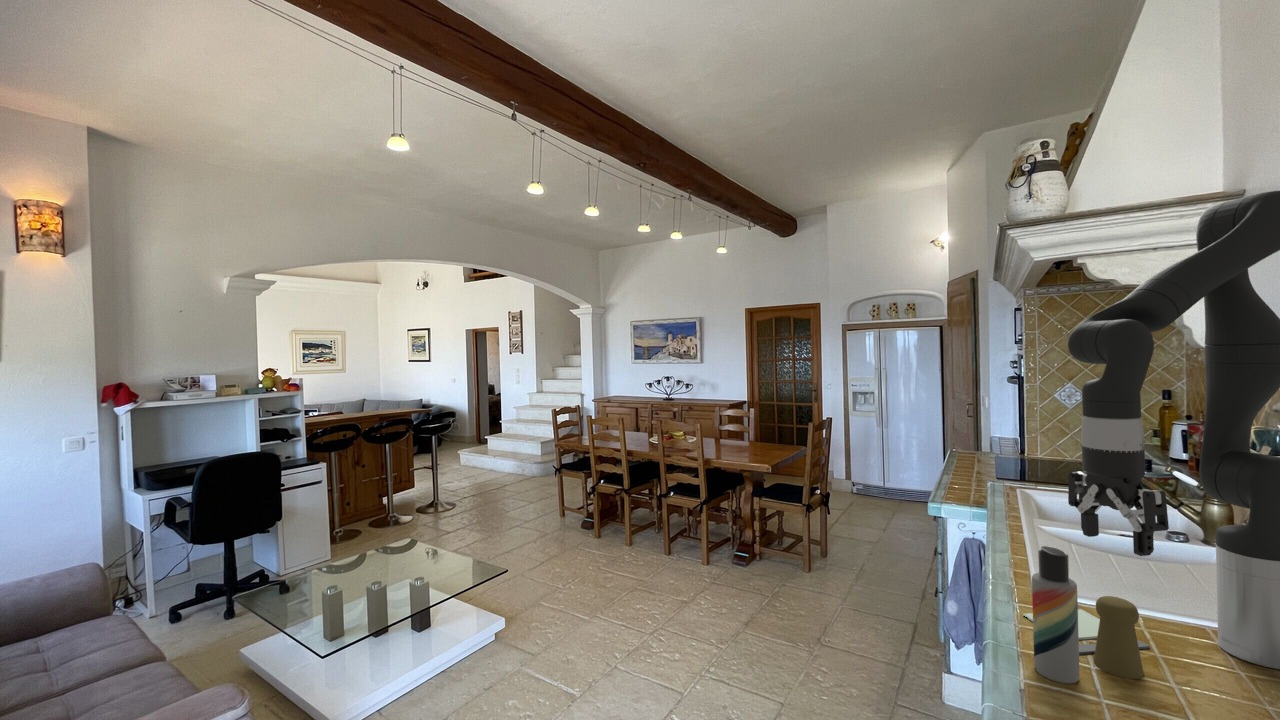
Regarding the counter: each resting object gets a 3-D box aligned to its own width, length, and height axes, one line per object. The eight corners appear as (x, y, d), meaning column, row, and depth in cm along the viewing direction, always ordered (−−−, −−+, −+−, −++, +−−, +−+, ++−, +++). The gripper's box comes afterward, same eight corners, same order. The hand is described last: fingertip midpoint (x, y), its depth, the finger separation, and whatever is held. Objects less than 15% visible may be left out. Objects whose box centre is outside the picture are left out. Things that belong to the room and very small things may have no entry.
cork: (1154, 680, 82) (1152, 610, 81) (1109, 677, 83) (1107, 607, 83) (1126, 658, 87) (1125, 592, 87) (1085, 655, 89) (1083, 590, 88)
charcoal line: (1138, 641, 92) (1138, 639, 92) (1149, 648, 90) (1149, 646, 90) (1051, 649, 91) (1051, 647, 91) (1061, 656, 89) (1061, 653, 89)
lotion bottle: (1035, 658, 88) (1031, 540, 88) (1079, 670, 85) (1076, 547, 84) (1033, 675, 84) (1029, 551, 84) (1079, 689, 80) (1076, 558, 80)
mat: (1080, 611, 103) (1080, 609, 103) (1126, 635, 94) (1126, 633, 94) (1022, 615, 102) (1022, 613, 102) (1063, 641, 93) (1063, 638, 93)
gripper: (1182, 451, 78) (1185, 560, 78) (1092, 436, 92) (1095, 528, 92) (1135, 454, 77) (1138, 564, 77) (1052, 438, 91) (1055, 531, 92)
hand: (1115, 544), depth 85 cm, fingers open, 8 cm apart
